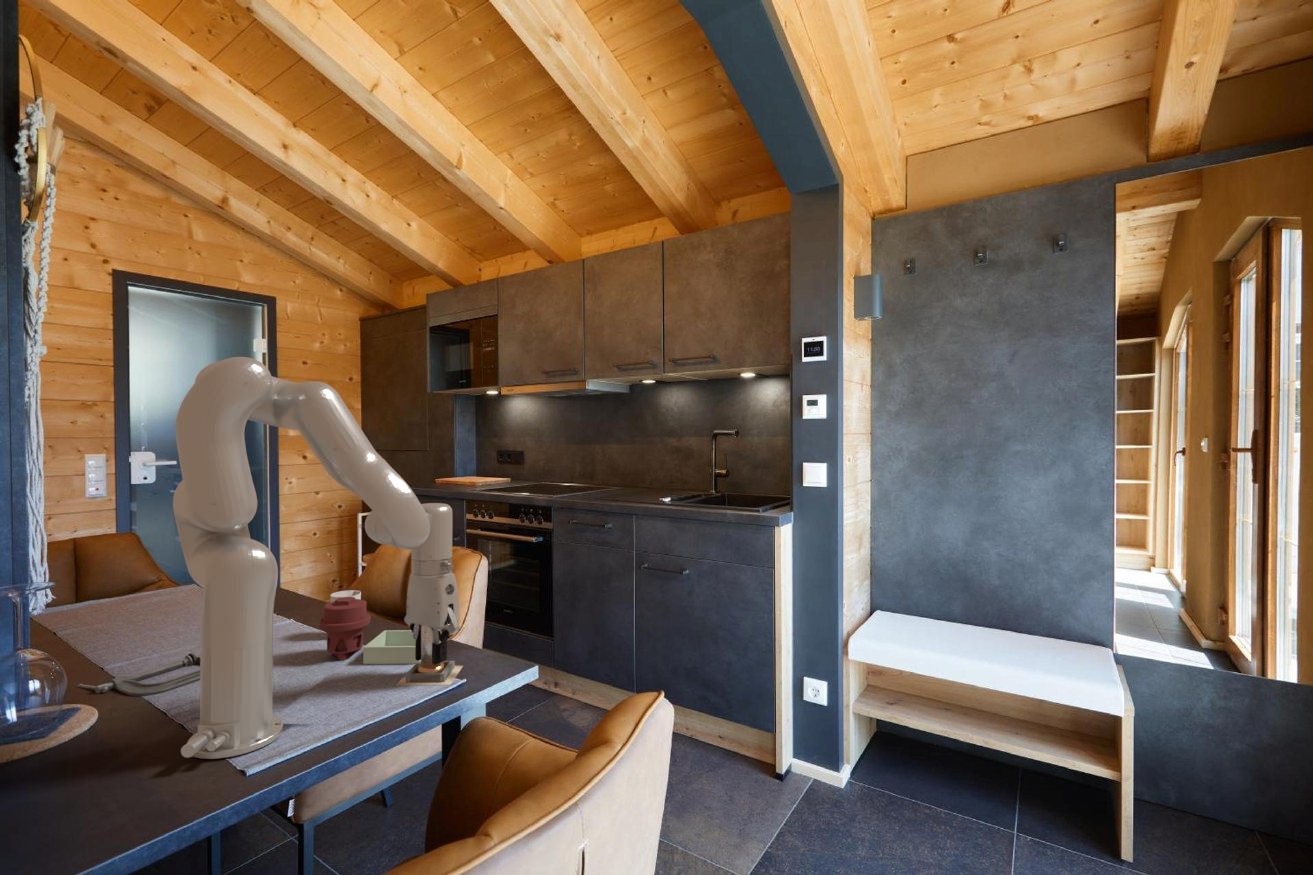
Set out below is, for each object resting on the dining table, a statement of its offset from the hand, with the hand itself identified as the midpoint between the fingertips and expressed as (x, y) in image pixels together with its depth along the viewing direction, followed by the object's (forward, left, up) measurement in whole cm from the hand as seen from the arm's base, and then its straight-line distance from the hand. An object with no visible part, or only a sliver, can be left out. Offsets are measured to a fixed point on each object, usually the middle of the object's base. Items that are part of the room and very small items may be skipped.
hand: (431, 659), depth 122 cm
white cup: (+29, +29, -4) cm, 41 cm away
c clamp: (+3, +53, -5) cm, 54 cm away
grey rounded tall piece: (0, 0, -3) cm, 3 cm away
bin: (+12, +10, -4) cm, 16 cm away
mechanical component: (+15, +23, -4) cm, 28 cm away
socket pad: (0, 0, -4) cm, 4 cm away
